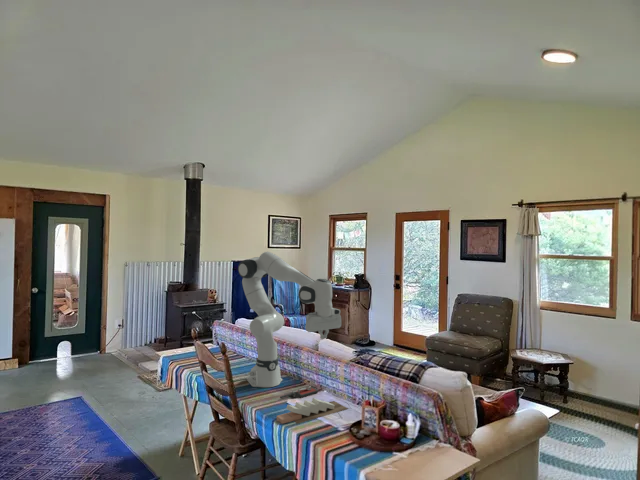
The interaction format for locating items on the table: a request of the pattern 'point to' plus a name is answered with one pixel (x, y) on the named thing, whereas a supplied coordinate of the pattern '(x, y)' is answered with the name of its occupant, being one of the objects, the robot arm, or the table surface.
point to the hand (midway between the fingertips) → (323, 338)
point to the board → (322, 412)
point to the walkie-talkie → (302, 393)
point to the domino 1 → (288, 417)
